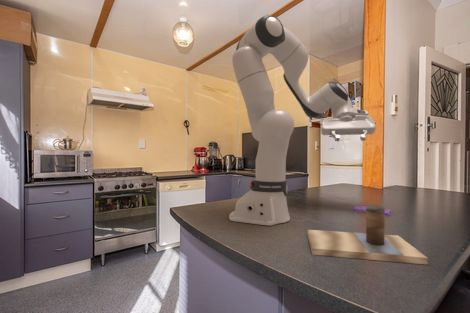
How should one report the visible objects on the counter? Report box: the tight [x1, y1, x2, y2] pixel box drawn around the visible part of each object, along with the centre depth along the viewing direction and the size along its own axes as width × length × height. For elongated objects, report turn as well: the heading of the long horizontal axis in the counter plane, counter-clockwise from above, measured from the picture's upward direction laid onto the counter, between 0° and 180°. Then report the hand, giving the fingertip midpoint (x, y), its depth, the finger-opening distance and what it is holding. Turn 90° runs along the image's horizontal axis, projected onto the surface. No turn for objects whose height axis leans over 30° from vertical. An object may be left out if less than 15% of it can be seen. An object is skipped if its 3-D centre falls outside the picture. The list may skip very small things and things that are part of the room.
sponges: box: [353, 204, 391, 217], centre depth 96 cm, size 7×13×2 cm, turn 50°
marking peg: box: [365, 204, 386, 246], centre depth 60 cm, size 4×4×9 cm
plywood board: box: [307, 229, 429, 265], centre depth 61 cm, size 24×14×2 cm, turn 77°
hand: (350, 139), depth 91 cm, fingers open, 8 cm apart
